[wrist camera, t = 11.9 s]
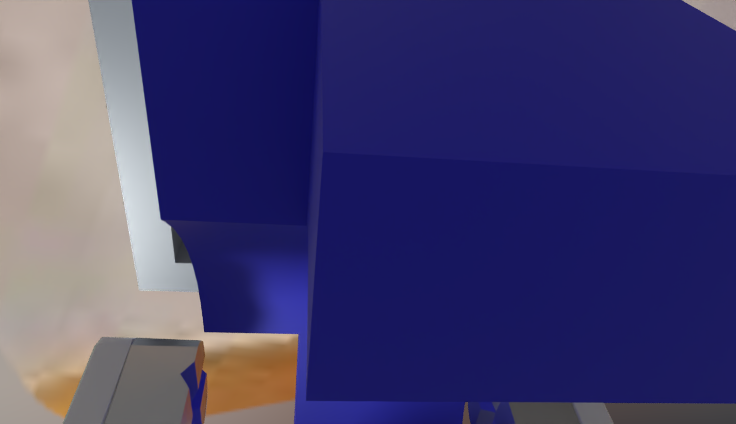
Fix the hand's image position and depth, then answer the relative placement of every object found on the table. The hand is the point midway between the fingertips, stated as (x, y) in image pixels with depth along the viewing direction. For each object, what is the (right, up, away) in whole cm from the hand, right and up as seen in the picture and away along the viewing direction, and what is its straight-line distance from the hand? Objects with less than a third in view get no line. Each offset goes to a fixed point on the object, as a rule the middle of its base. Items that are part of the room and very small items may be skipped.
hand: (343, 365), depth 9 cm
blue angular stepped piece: (0, +2, +1) cm, 2 cm away
